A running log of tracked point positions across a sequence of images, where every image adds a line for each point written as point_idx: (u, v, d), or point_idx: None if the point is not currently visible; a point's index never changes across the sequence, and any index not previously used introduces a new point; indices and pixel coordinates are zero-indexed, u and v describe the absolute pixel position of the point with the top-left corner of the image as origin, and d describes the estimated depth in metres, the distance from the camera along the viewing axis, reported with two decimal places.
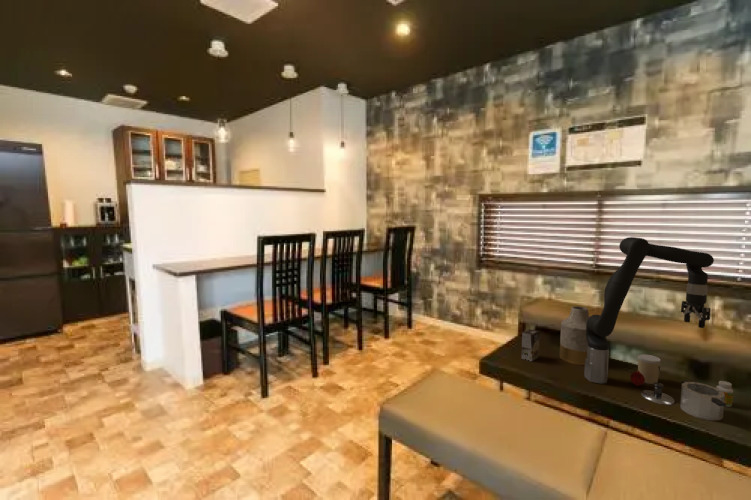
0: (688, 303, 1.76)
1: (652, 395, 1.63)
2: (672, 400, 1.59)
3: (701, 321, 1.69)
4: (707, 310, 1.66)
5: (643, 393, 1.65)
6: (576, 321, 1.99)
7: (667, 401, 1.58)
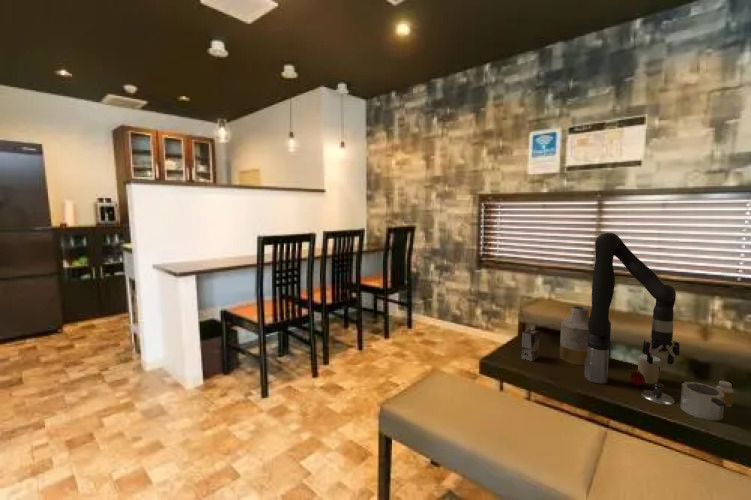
0: (656, 343, 1.58)
1: (652, 395, 1.63)
2: (672, 400, 1.59)
3: (673, 357, 1.59)
4: None
5: (643, 393, 1.65)
6: (576, 321, 1.99)
7: (667, 401, 1.58)
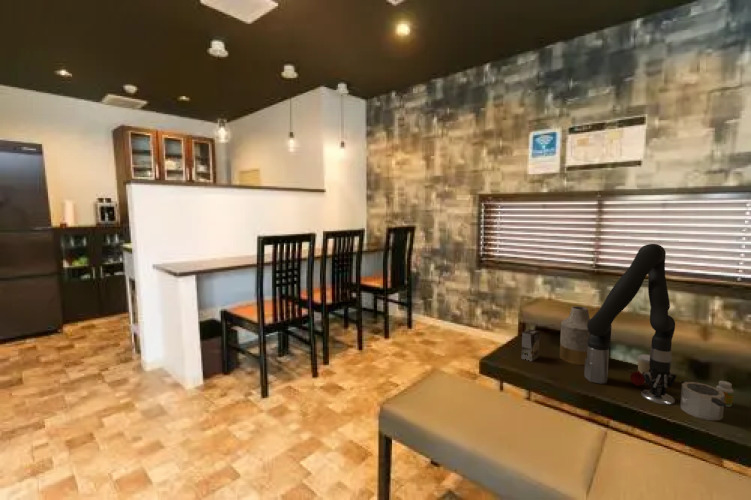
0: (654, 372, 1.60)
1: (652, 394, 1.63)
2: (672, 399, 1.59)
3: (665, 388, 1.61)
4: None
5: (643, 392, 1.65)
6: (576, 321, 1.99)
7: (667, 400, 1.58)
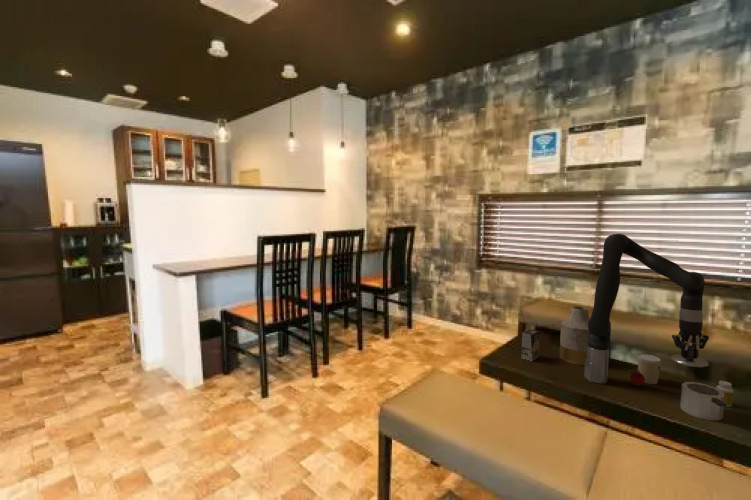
0: (684, 333, 1.50)
1: (683, 358, 1.53)
2: (706, 362, 1.49)
3: (697, 351, 1.51)
4: None
5: (673, 357, 1.55)
6: (576, 321, 1.99)
7: (700, 363, 1.48)
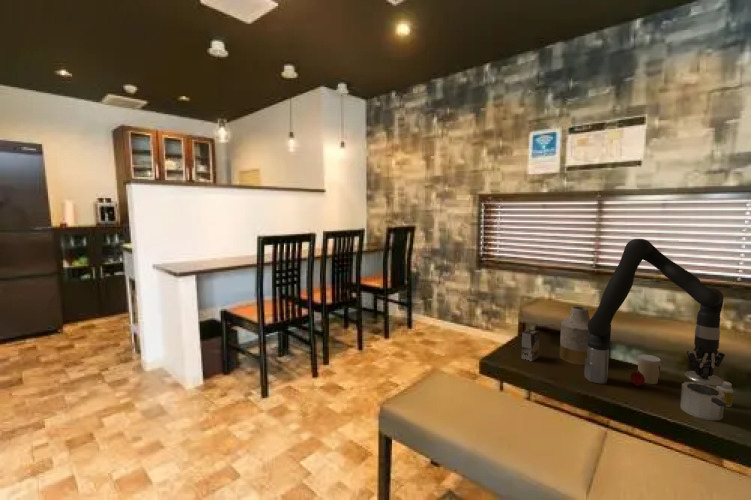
0: (700, 350, 1.47)
1: (697, 376, 1.50)
2: (721, 380, 1.45)
3: (712, 368, 1.47)
4: None
5: (687, 374, 1.52)
6: (576, 321, 1.99)
7: (715, 381, 1.45)
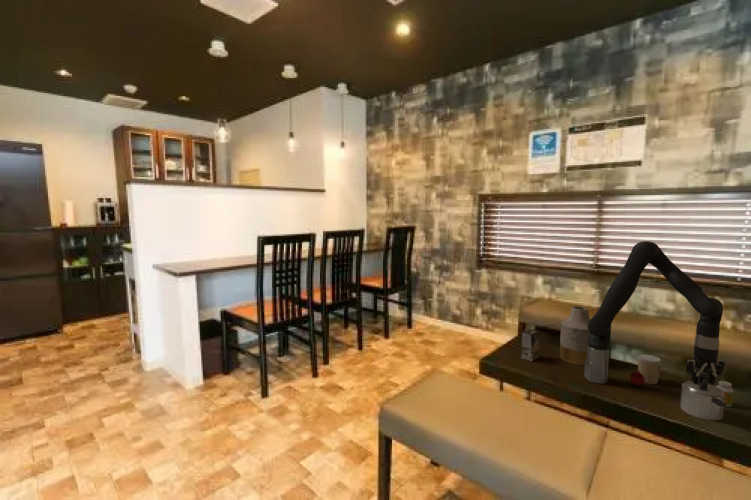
0: (699, 360, 1.47)
1: (696, 386, 1.50)
2: (720, 391, 1.46)
3: (714, 377, 1.48)
4: None
5: (686, 384, 1.52)
6: (576, 321, 1.99)
7: (714, 392, 1.45)
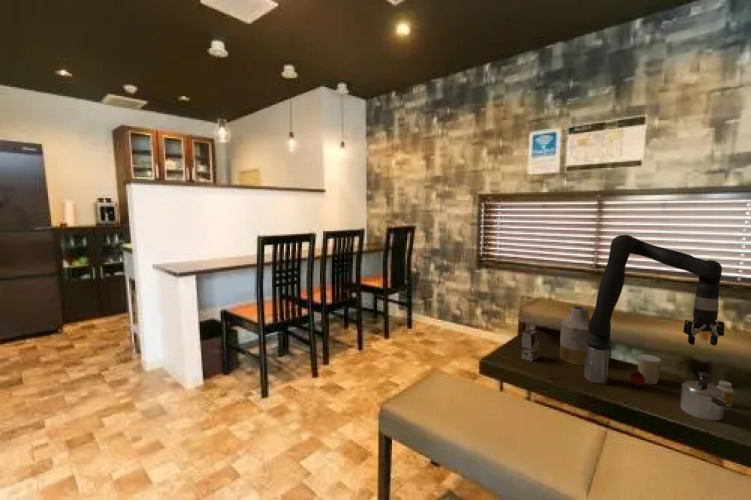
0: (699, 322, 1.48)
1: (696, 386, 1.50)
2: (720, 391, 1.46)
3: (717, 338, 1.49)
4: None
5: (686, 384, 1.52)
6: (576, 321, 1.99)
7: (714, 392, 1.45)
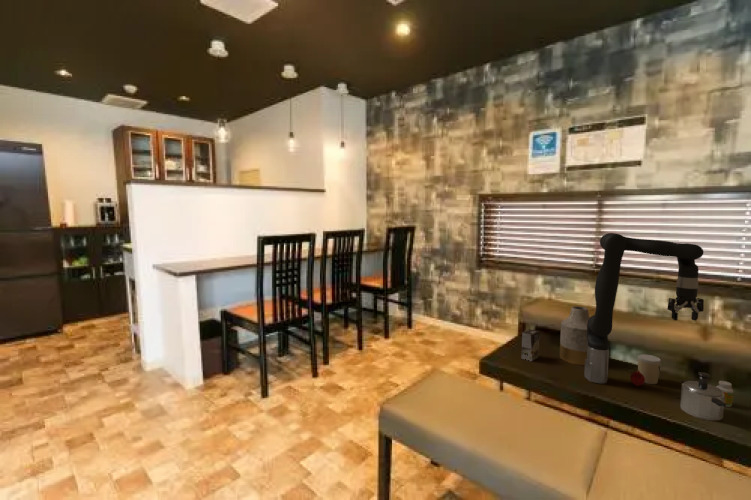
0: (681, 299, 1.64)
1: (696, 386, 1.50)
2: (720, 391, 1.46)
3: (697, 313, 1.65)
4: None
5: (686, 384, 1.52)
6: (576, 321, 1.99)
7: (714, 392, 1.45)
